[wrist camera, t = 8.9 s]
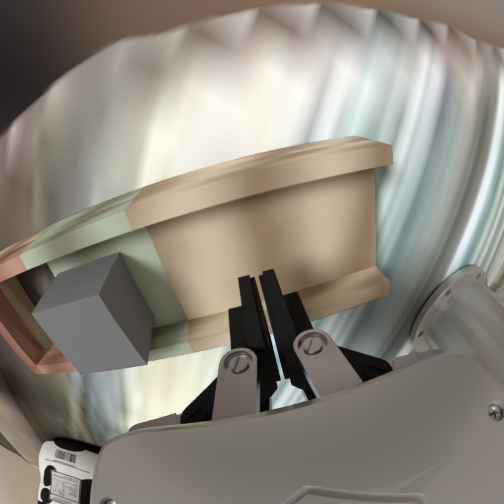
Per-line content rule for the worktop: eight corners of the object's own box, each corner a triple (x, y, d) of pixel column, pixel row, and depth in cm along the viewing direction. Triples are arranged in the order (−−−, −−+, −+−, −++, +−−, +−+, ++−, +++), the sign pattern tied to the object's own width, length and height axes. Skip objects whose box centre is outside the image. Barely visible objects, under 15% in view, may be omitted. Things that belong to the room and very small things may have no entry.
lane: (354, 135, 15) (392, 145, 12) (362, 262, 20) (389, 293, 16) (-7, 255, 14) (-33, 282, 11) (49, 341, 19) (35, 373, 15)
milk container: (97, 468, 38) (95, 533, 22) (31, 433, 29) (19, 506, 14) (147, 464, 36) (150, 546, 20) (68, 427, 27) (57, 526, 12)
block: (119, 251, 14) (98, 294, 11) (154, 316, 17) (147, 364, 13) (57, 273, 14) (31, 313, 11) (95, 330, 16) (80, 373, 13)
